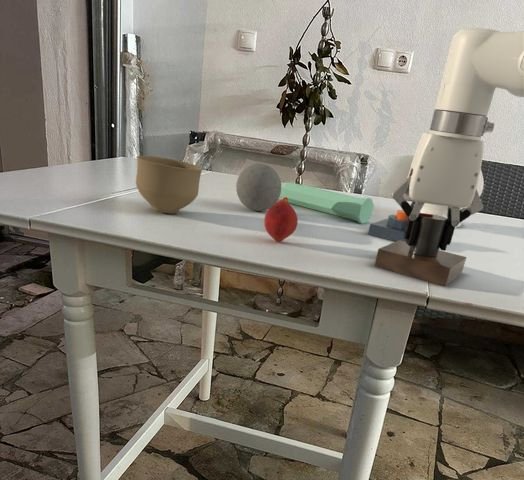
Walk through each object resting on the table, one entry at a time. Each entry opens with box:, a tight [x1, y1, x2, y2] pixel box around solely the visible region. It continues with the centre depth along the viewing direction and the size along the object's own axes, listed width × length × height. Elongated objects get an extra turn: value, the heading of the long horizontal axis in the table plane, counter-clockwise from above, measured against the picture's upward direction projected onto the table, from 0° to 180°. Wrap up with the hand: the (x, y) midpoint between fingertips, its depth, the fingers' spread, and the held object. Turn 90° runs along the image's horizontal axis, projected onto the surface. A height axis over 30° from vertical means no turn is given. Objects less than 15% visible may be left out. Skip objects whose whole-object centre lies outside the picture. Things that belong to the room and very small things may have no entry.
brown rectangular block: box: [374, 240, 467, 287], centre depth 85 cm, size 12×10×3 cm
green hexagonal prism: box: [279, 181, 374, 224], centre depth 122 cm, size 6×6×25 cm
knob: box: [409, 213, 447, 257], centre depth 83 cm, size 5×5×6 cm
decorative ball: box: [235, 163, 282, 212], centre depth 112 cm, size 10×10×10 cm
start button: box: [395, 209, 408, 221], centre depth 105 cm, size 4×4×2 cm
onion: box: [264, 197, 299, 243], centre depth 89 cm, size 6×6×8 cm
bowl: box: [135, 155, 203, 215], centre depth 100 cm, size 13×13×10 cm
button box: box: [367, 214, 407, 242], centre depth 106 cm, size 11×9×4 cm
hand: (425, 244), depth 84 cm, fingers closed on knob, 4 cm apart
